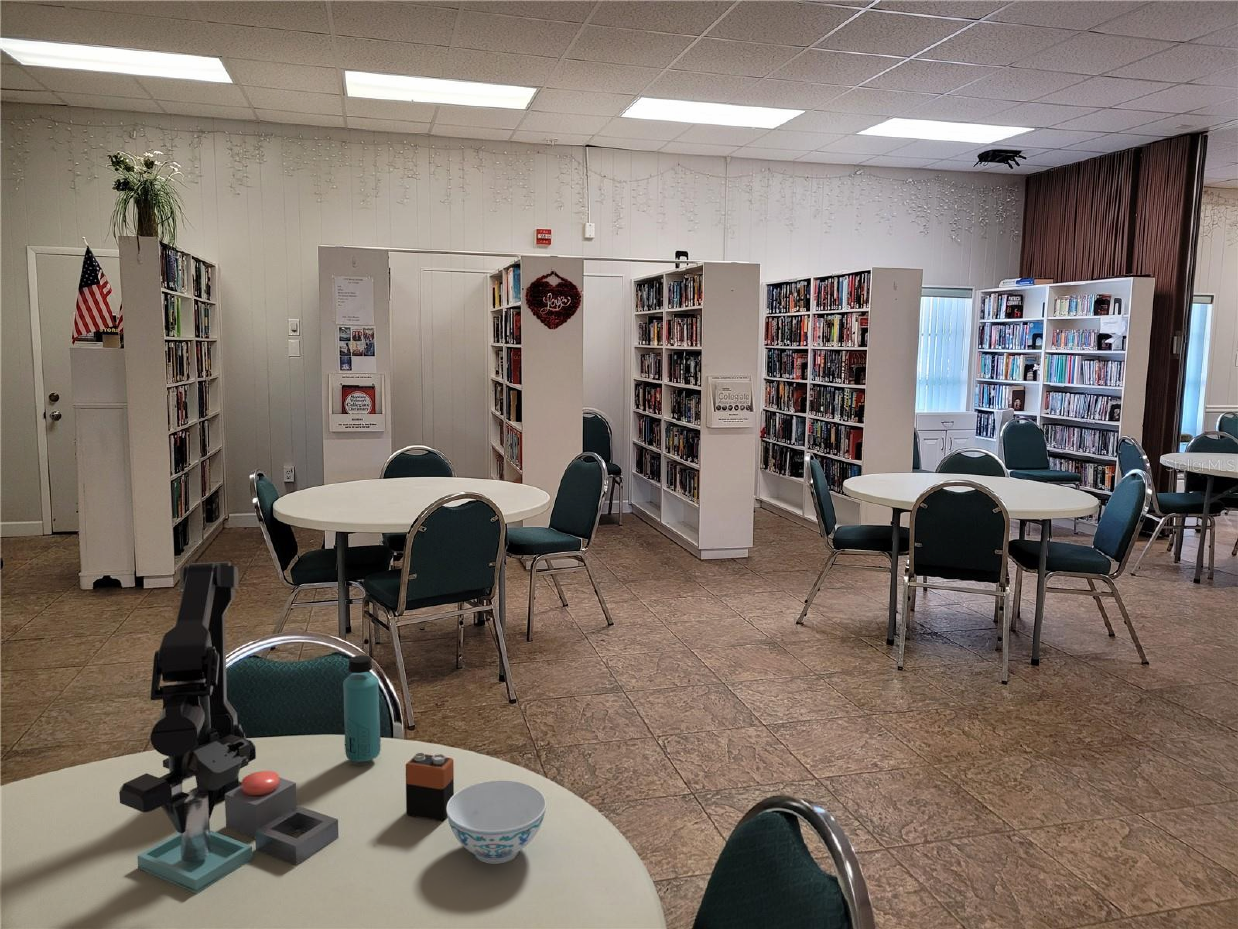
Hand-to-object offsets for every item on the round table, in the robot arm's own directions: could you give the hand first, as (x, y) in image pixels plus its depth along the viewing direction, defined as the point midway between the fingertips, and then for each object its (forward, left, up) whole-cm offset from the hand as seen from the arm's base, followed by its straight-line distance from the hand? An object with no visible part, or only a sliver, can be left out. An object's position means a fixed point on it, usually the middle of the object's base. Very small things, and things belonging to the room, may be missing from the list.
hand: (194, 825), depth 132 cm
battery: (+21, +28, -6) cm, 36 cm away
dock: (-1, +13, -6) cm, 14 cm away
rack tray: (0, 0, -6) cm, 6 cm away
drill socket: (+9, +11, -6) cm, 15 cm away
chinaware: (+37, +24, -6) cm, 45 cm away
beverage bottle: (-1, +36, -6) cm, 37 cm away
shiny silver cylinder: (0, 0, -4) cm, 5 cm away
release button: (-1, +13, -3) cm, 13 cm away
